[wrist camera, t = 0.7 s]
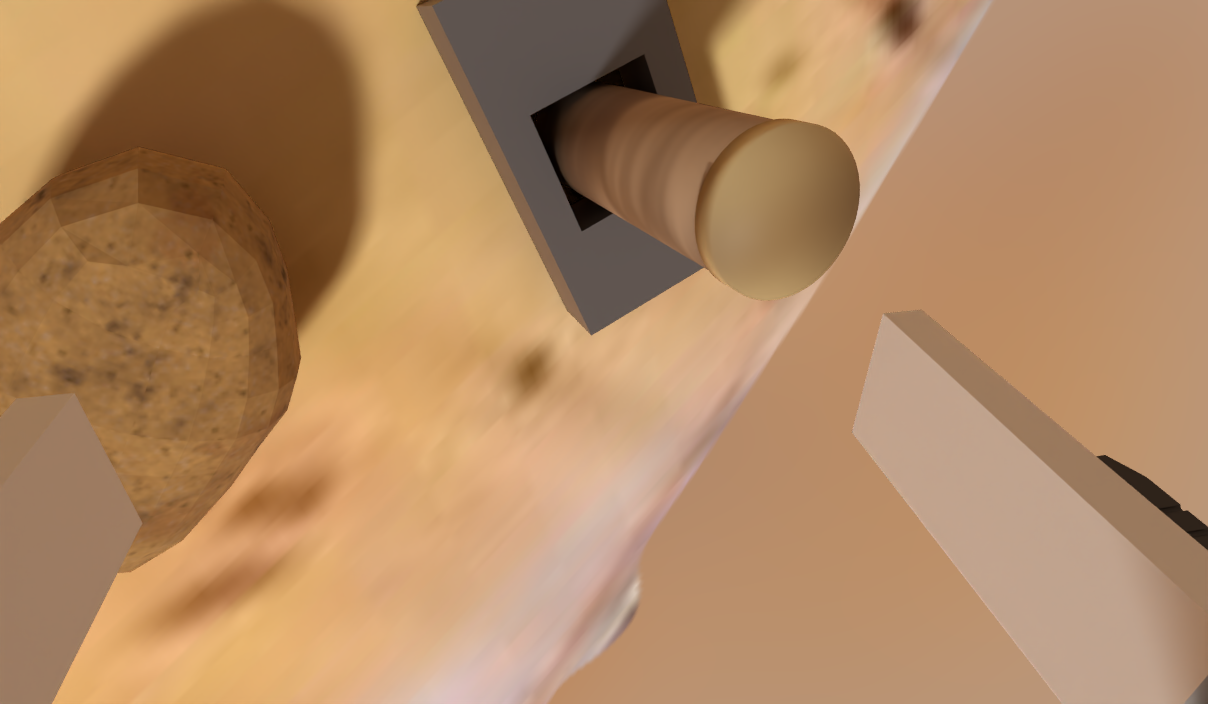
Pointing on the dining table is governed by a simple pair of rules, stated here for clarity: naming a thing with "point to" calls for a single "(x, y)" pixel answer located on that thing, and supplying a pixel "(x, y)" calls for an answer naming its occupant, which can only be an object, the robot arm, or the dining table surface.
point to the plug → (710, 182)
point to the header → (502, 117)
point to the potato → (152, 326)
